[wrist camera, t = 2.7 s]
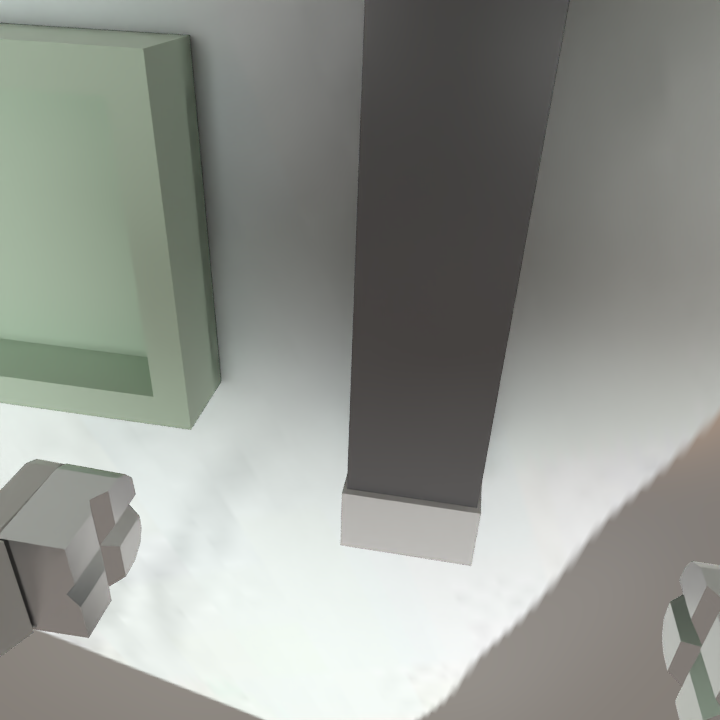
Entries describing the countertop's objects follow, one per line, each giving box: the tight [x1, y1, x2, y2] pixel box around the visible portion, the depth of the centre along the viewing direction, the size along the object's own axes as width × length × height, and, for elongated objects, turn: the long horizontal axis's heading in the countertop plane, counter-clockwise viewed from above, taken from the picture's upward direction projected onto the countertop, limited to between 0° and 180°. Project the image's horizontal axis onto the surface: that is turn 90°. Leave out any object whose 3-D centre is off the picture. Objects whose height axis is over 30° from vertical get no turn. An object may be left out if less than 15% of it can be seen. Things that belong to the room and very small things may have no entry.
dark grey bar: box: [340, 0, 570, 566], centre depth 16 cm, size 15×4×4 cm, turn 178°
